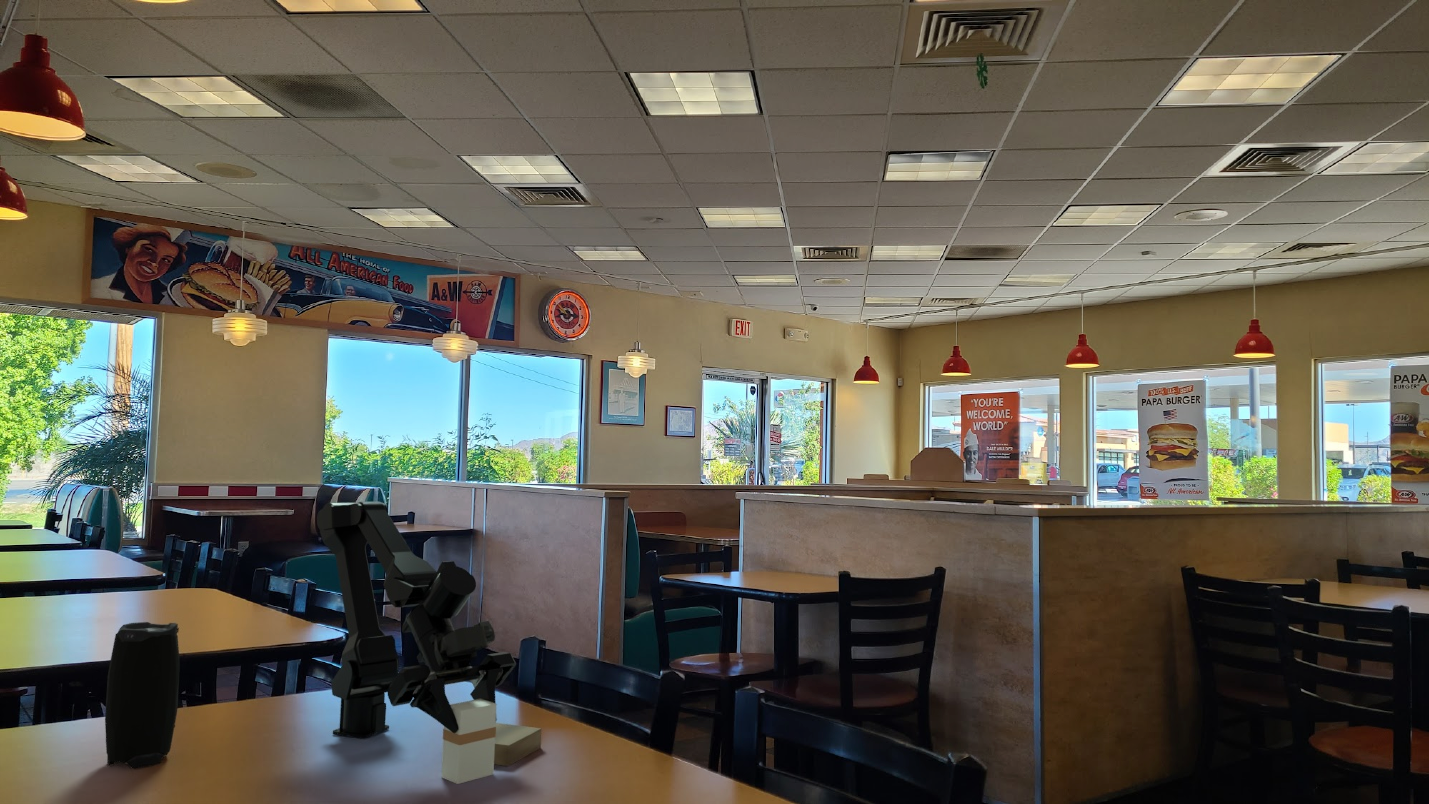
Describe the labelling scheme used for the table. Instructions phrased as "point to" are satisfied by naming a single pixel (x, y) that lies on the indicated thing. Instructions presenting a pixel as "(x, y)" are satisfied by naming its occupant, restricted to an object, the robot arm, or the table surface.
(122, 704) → the portable speaker
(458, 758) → the carton
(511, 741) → the base
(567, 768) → the table surface
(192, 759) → the table surface
